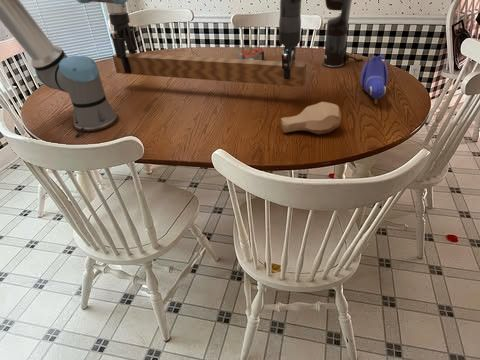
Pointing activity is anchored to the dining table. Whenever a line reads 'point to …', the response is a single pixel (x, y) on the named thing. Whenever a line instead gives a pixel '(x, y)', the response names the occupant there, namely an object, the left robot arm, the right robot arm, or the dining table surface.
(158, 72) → the bar
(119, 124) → the dining table surface
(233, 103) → the dining table surface
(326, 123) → the squash
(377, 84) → the toy
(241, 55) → the tape dispenser
